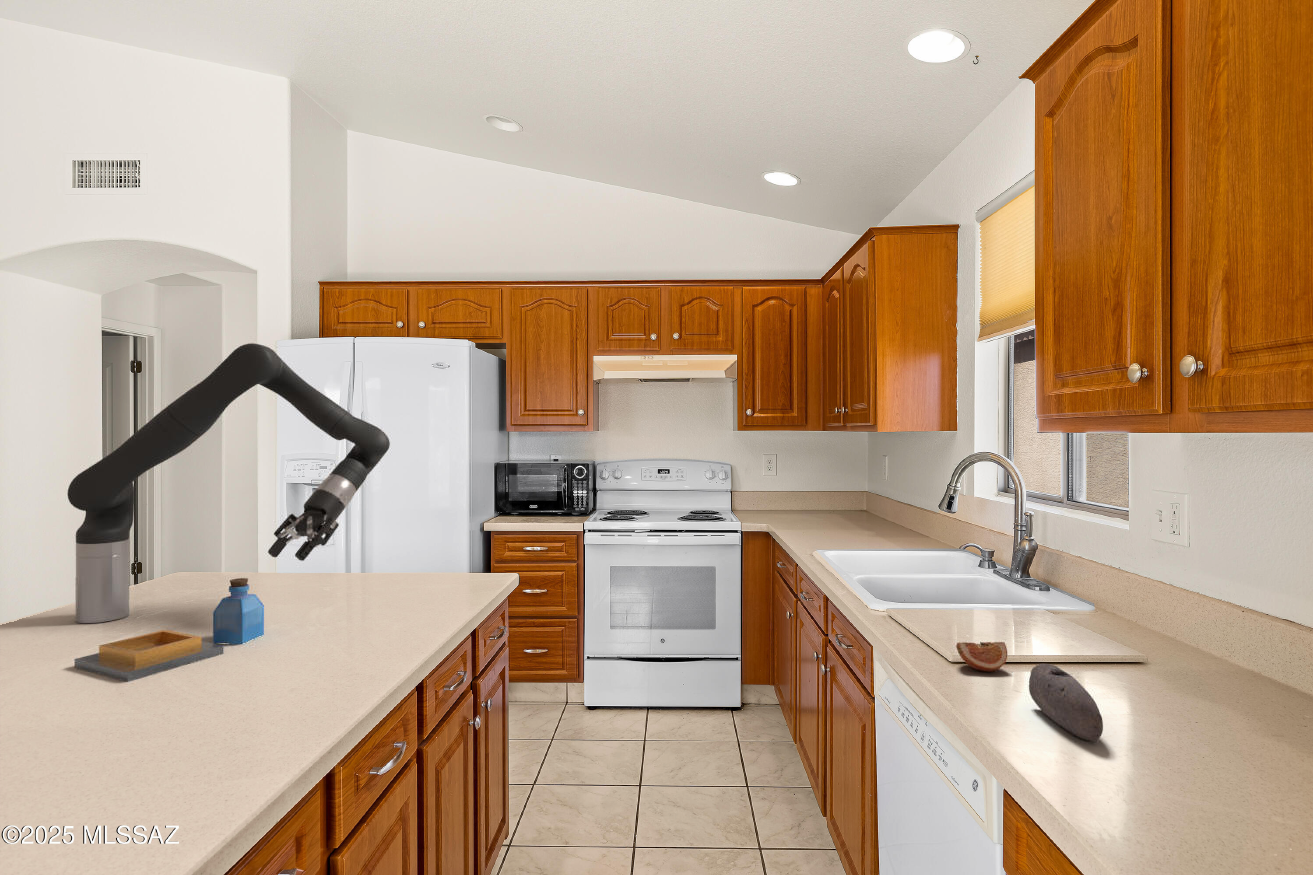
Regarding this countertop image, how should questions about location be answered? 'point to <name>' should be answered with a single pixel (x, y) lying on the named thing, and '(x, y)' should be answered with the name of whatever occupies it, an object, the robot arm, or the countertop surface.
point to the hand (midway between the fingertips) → (284, 556)
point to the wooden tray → (147, 655)
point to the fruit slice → (983, 655)
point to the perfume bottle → (238, 615)
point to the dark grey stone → (1065, 701)
